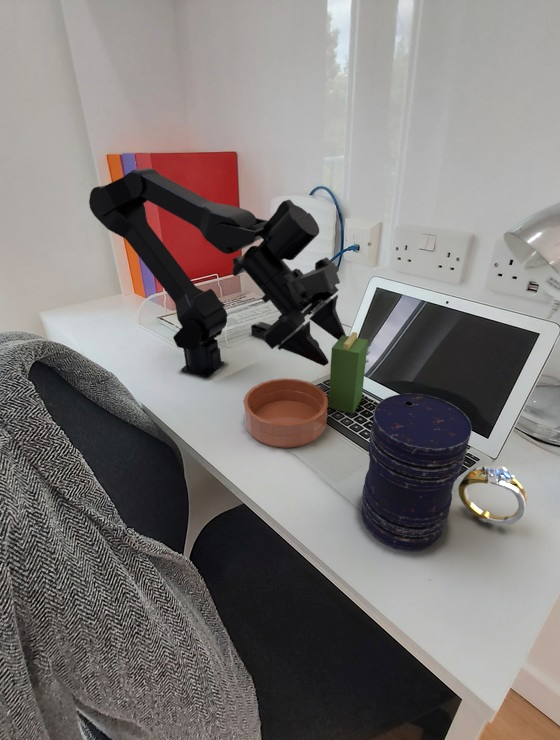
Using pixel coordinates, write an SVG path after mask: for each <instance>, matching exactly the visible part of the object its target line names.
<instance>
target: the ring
mask: <svg viewBox="0 0 560 740" xmlns="http://www.w3.org/2000/svg"><path fill="white" fill-rule="evenodd" d="M480 474H481V475H480ZM472 484H473V485H474V484H491V485H495V486H498V487H501V488H504V489H506V490H508V491H510V492H511V493H512V494H513V495H514V496H515V498H516V500H517V504H518V507H517V509H516V511H514V512H513V513H512V514H510V515H507V516H498V515H497V516H496V515H493V514H491V513H490V512H489V511H488V510H485V509H483V510H482V509H480V508H479V507H477V505H475V504H474V502H473V501H472V500H471V499H470V497H469V495H468V491H467V487H468V486H470V485H472ZM457 491H458V496H459V498H460V500H461V502H462V504H463V505H464V507H465V508H466V509H467V510H468V511H469V512H470V513H471V514H473V515H474V516H475V517H477V518H478V520H479V521H480V522H483V523H488V524H492V525H496V526H509V525H513V524H515V523H517V522H519V521H520V520H521V519H522V517H523V516H524V514H525V512H526V510H527V507H528V496H527V493H526V490H525V488H524V487H523V486H522V484H521V483H520V482H519V481H518V480H517V479H516V478H515V475H513V474H512V473H511V471H510V470H509V469H507V468H506V467H504V466H501V465H496V464H495V465H482V466H479V467H475V468H473V469H471V470H469V472H468V473H467V474H466V475H465V476H464V477H463V479H462V480H461V482H460V483H459V485H458V490H457Z"/></svg>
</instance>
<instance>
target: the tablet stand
mask: <svg viewBox="0 0 560 740" xmlns="http://www.w3.org/2000/svg"><path fill="white" fill-rule="evenodd" d="M272 325H273V324H270V323H267V322H264V321H257V322H255V323H253V324H251V325H250V331H251V332H250V333H251V336H254V337H256V338H260V339H262V340H264V332H265V331H266V330H267V329H268V328H269V327H270V326H272ZM313 339H314V340H315V341H316V343H317V344H318V346H319V347H320V343H319V342H318V340H316V339H315V338H313ZM281 344H282V342H280V343H279V344H278V345H279V346H280V345H281Z"/></svg>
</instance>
